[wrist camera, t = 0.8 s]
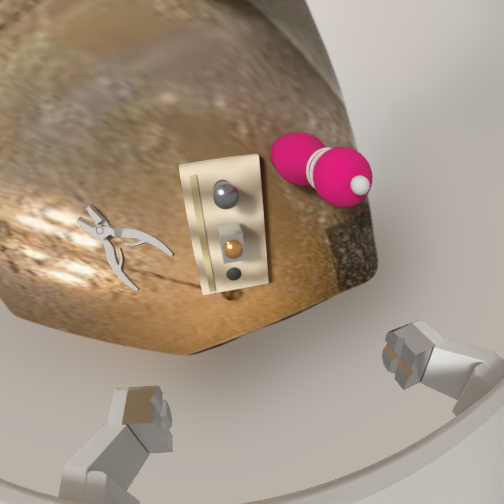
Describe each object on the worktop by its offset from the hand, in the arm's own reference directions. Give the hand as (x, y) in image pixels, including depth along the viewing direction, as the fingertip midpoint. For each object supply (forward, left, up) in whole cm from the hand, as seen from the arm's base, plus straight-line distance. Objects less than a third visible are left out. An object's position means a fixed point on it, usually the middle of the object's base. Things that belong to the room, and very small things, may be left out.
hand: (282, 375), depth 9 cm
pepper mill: (-1, +12, -35) cm, 37 cm away
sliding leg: (+9, +1, -33) cm, 34 cm away
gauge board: (+9, +1, -35) cm, 36 cm away
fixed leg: (+2, +1, -33) cm, 33 cm away
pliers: (+8, -16, -35) cm, 39 cm away
